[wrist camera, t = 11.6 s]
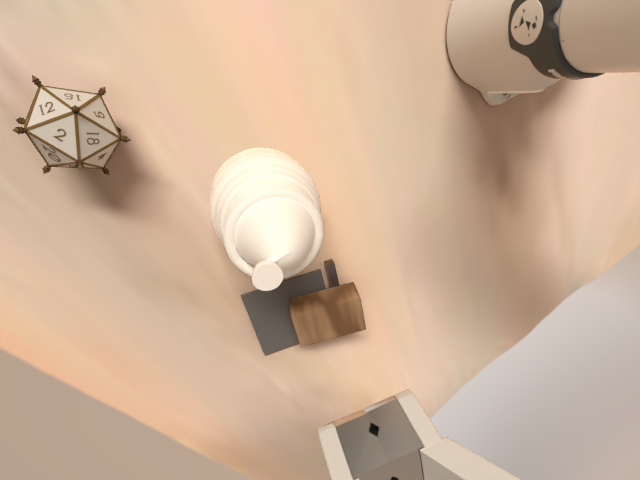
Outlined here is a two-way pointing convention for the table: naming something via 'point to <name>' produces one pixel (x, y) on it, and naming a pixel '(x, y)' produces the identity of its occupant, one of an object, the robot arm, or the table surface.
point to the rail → (331, 273)
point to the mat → (279, 310)
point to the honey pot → (266, 215)
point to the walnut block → (327, 314)
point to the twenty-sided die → (71, 128)
